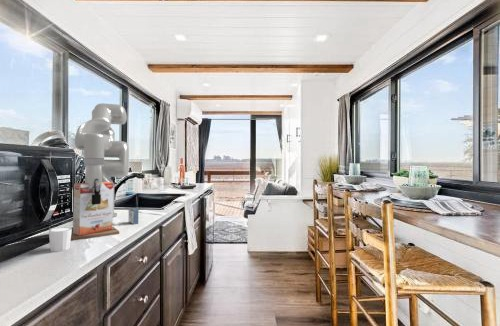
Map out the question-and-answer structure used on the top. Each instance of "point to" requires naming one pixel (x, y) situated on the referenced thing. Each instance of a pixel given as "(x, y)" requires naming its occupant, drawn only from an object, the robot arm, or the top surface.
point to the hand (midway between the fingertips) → (93, 202)
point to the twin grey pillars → (133, 216)
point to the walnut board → (94, 234)
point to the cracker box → (92, 209)
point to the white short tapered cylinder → (60, 239)
